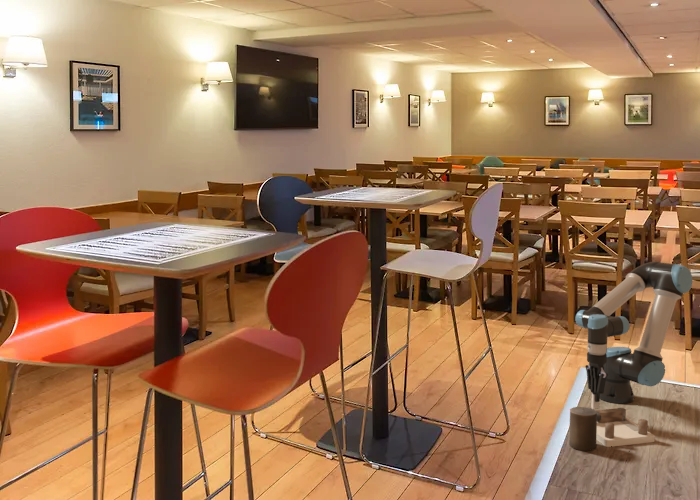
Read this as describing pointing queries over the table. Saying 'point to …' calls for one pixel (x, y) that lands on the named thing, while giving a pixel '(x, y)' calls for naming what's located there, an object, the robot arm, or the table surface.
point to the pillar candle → (583, 428)
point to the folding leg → (611, 415)
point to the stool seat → (623, 433)
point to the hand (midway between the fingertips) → (595, 408)
